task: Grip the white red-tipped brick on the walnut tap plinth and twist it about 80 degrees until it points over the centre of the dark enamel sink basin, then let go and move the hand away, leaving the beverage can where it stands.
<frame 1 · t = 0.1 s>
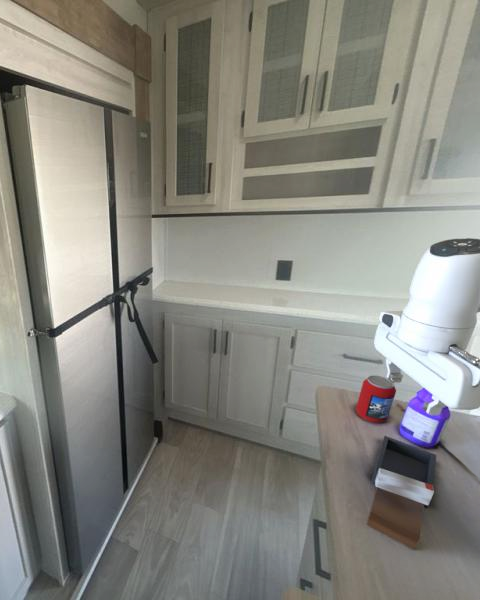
hand: (410, 395, 63), 26 cm above the countertop, tool pointing down, fingers open, 8 cm apart
sink basin: (401, 474, 76), on the countertop
bottle: (417, 439, 85), on the countertop
white red-tipped brick: (403, 485, 67), point 6 cm above the countertop, hinge at -80.0°
beverage can: (370, 416, 93), on the countertop
tap plinth: (393, 516, 68), on the countertop
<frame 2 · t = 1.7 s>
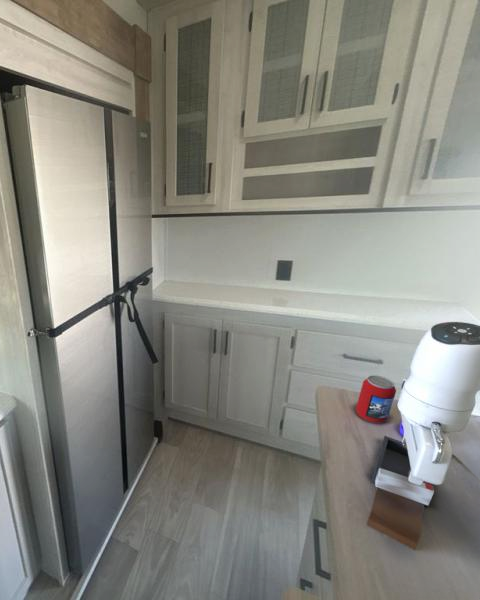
hand: (410, 463, 65), 12 cm above the countertop, tool pointing down, fingers open, 8 cm apart
nothing on the countertop moved.
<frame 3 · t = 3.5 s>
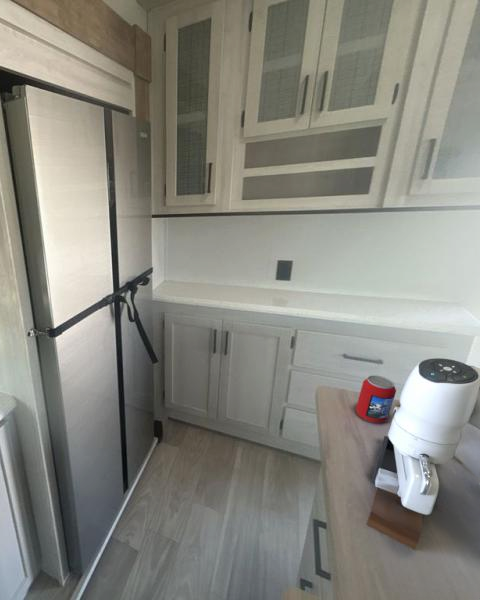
hand: (401, 489, 68), 5 cm above the countertop, tool pointing down, fingers closed on white red-tipped brick, 2 cm apart
white red-tipped brick: (403, 485, 67), point 6 cm above the countertop, hinge at -80.1°, touching gripper
everything else where it was.
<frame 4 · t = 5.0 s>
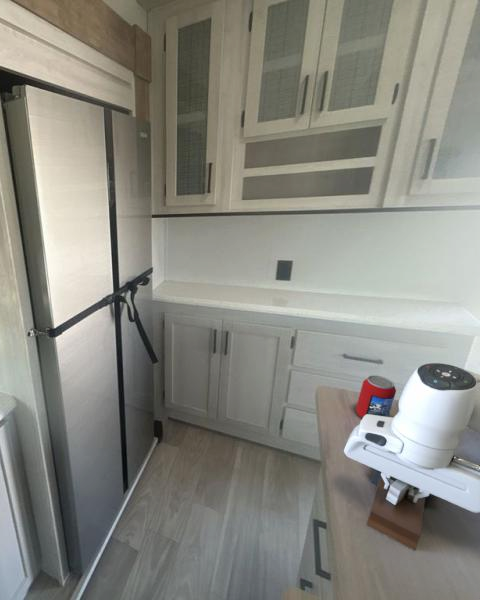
hand: (399, 493, 68), 4 cm above the countertop, tool pointing down, fingers closed, pressing on white red-tipped brick, tap plinth
white red-tipped brick: (403, 485, 67), point 6 cm above the countertop, hinge at -16.9°, touching gripper
everything else where it was.
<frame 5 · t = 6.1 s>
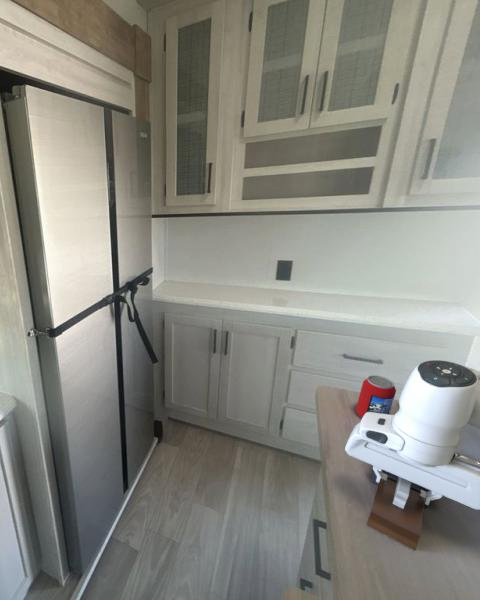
hand: (401, 491, 68), 5 cm above the countertop, tool pointing down, fingers open, 5 cm apart
white red-tipped brick: (403, 485, 67), point 6 cm above the countertop, hinge at 0.0°
everything else where it was.
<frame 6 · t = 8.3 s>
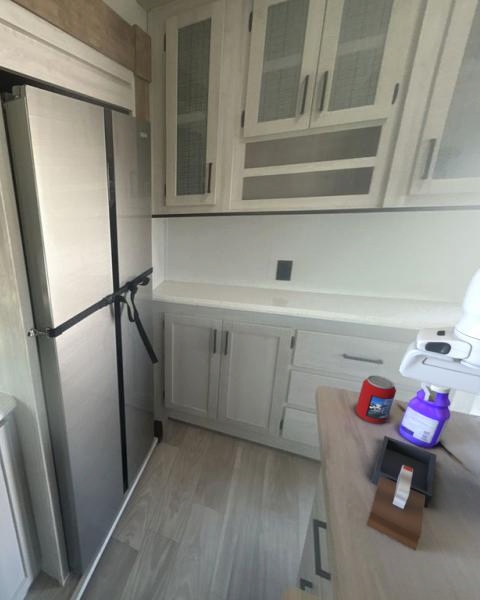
hand: (464, 409, 63), 23 cm above the countertop, tool pointing down, fingers open, 8 cm apart
nothing on the countertop moved.
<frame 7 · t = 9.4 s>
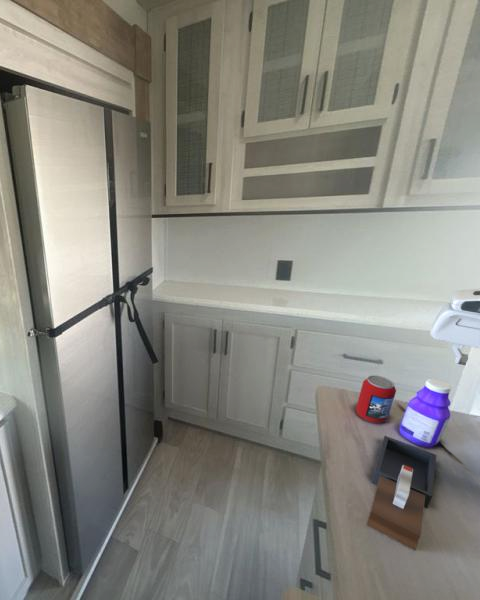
nothing on the countertop moved.
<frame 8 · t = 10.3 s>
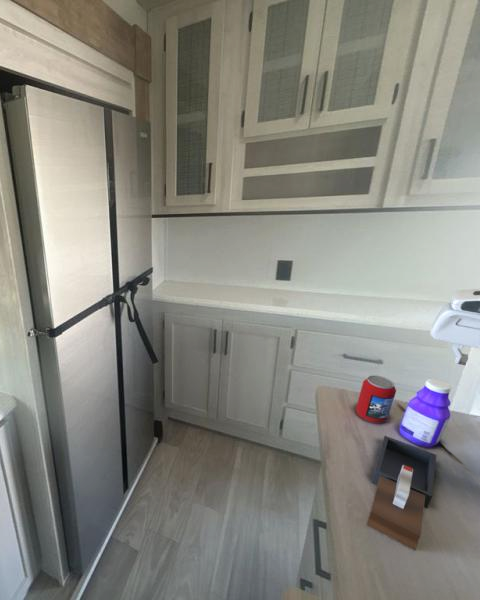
nothing on the countertop moved.
at the end: white red-tipped brick at +0° (first picture: -80°); beverage can moved 0.2 cm from its start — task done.
